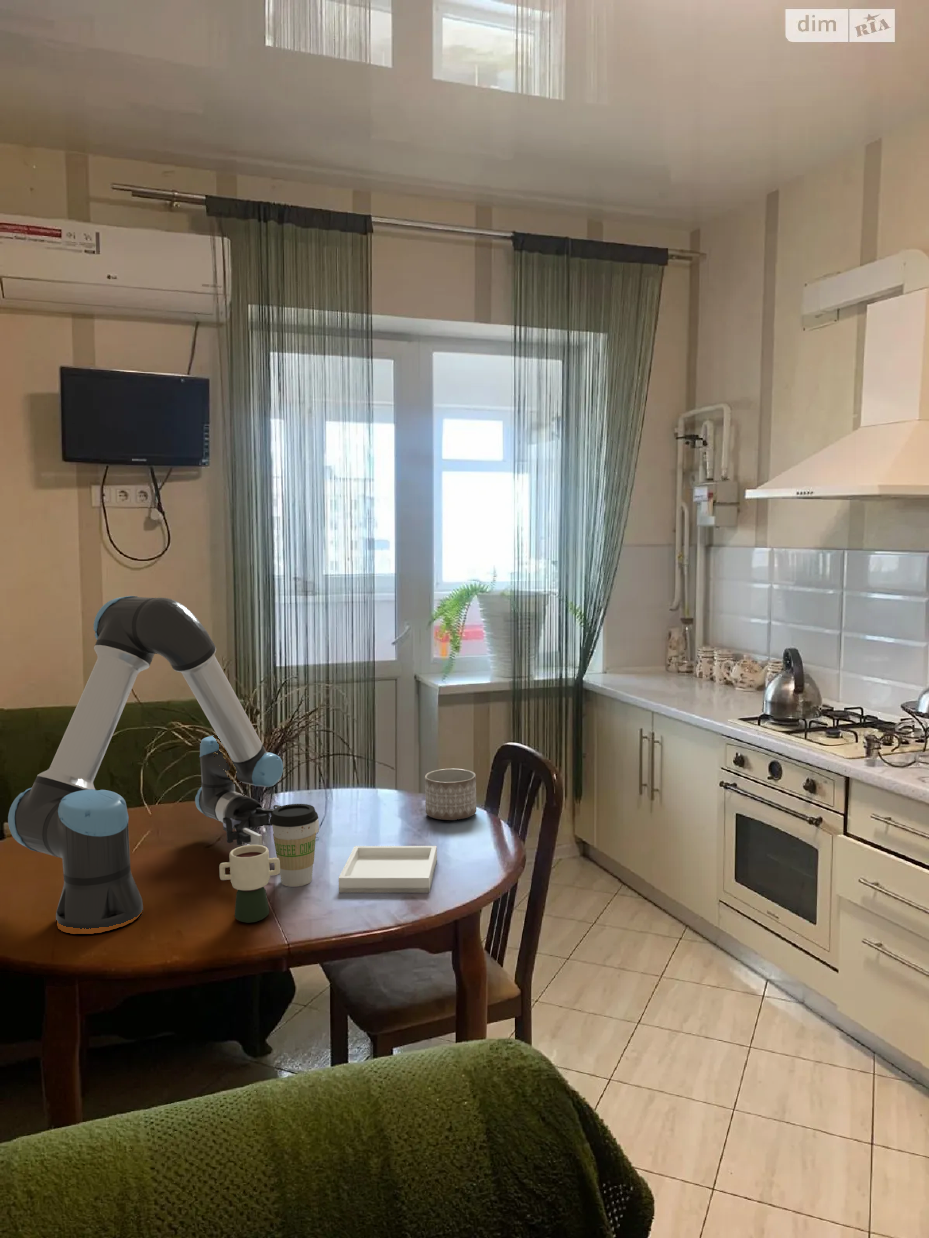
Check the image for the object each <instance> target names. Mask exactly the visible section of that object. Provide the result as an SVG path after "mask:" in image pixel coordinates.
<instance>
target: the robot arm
mask: <svg viewBox="0 0 929 1238" xmlns="http://www.w3.org/2000/svg"><path fill="white" fill-rule="evenodd" d="M93 631H94V632H95V633H94V637H95V640H96V642H95V645H94V647H93V650H94V652H95V654H96V657H97V659H96V661H95V663H94V666H93V668H92V670H91V672H90V675H89V677H88V680H87V682H86V684H85V687H84V688H83V691H82V692H81V695H80V698H79V700H78V703H77V705H76V707H75V709H74V712H73V714H72V716H71V719H70V721H69V723H68V726H67V727H66V729H65V731H64V734H63V736H62V739H61V741H60V743H59V746H58V747H57V750H56V753H55V755H54V756H53V759H52V762H51V764H50V766H49V768H47V770H44V771H42V772H40V773H39V774H37V776H36V778H35V779H34V782H33V783H32V784H33V785H32V787H29V788H27V789H25V791H23V792H20V793H19V794H18V795H17V796H16V797H15V798H14V800H13V802H12V803H11V805H10V807H9V811H8V816H7V825H8V828H9V831H10V834H11V836H12V838H13V839H14V841H16V842H17V843H18V844H20V845H21V846H23V847H25V848H27V849H29V850H30V851H34V852H36V853H43V854H45V855H49V856H52V857H55V858H61V859H62V870H63V871H62V872H63V874H62V875H63V887H62V890H61V895H60V898H59V901H58V904H57V909H56V912H55V921H56V920H57V921H58V923H59V924H61V925H63V926H66V927H73V928H80V929H82V928H84V929H85V928H86V929H89V928H90V929H91V928H99V927H109V926H113V925H116V924H121V923H124V922H126V921H128V920H131V919H133V918H134V917H137V916H138V915H139V914H140V913H141V912H142V910H143V911H144V905H143V898H142V896H141V893H140V891H139V889H138V886H137V883H136V881H135V878H134V877H133V874H132V870H131V869H132V868H131V851H130V833H129V819H130V818H129V812H128V807H127V803H126V799H124V797H123V796H121V795H120V794H118V793H117V792H115V791H111V790H106V789H100V790H97V789H96V788H95V785H94V781H95V778H96V776H97V774H98V771H99V769H100V766H101V764H102V762H103V759H104V756H105V754H106V753H107V749H108V747H109V744H110V742H111V740H112V737H113V736H114V732H115V731H116V728H117V725H118V723H119V721H120V719H121V715H122V714H123V710H124V709H125V706H126V704H127V701H128V699H129V697H130V694H131V692H132V690H133V687H134V684H135V683H136V679H137V678H138V676H139V674H140V672H142V671H145V670H148V669H149V668H150V666H151V664H152V662H153V659H154V657H155V655H160V656H161V657H163V658H164V659H165V660H166V661H167V662H168V663H169V664H170V666H171V668H172V669H173V671H174V672H178V673H181V675H182V676H183V679H184V680H185V681H186V684H187V685H188V687H189V689H190V692H191V693H192V694H193V696H194V698H195V699H196V700H197V701H196V702H198V704H199V706H200V708H201V709H202V711H203V713H204V715H205V716H206V718H207V720H208V721H209V724H210V725H211V727H212V729H213V730H214V733H215V735H217V736H218V738H219V739H220V741H221V743H222V744H223V746H224V748H225V750H226V751H227V753H228V755H229V757H230V758H231V760H232V762H233V764H234V766H235V767H236V771H237V773H236V776H237V779H238V780H239V781H240V782H239V783H241V782H242V783H241V784H245V785H249V786H251V785H252V786H255V787H265V788H269V787H273V786H274V785H276V784H277V783H278V782H279V781H280V779H281V777H282V775H283V772H284V765H283V764H284V762H283V761H282V758H281V757H280V755H277V754H275V753H273V752H271V751H270V752H268V751H267V750H266V748H265V746H264V744H263V743H262V741H261V739H260V737H259V735H258V734H257V732H256V729H255V728H254V726H253V724H252V722H251V720H250V718H249V716H248V715H247V712H245V710H244V707H243V706H242V704H241V702H240V700H239V698H238V696H237V694H236V692H235V691H234V689H233V687H232V685H231V683H230V681H229V680H228V678H227V676H226V674H225V672H224V670H223V668H222V666H221V664H220V663H219V661H218V659H217V657H216V655H215V654H216V652H217V647H216V645H215V643H214V641H213V639H212V638H211V636H210V634H209V632H208V631H207V629H206V628H205V626H204V625H203V624H202V623H201V621H200V620H199V618H197V617H196V615H195V614H194V613H193V612H192V611H191V610H190V609H189V608H187V607H186V606H185V605H184V604H182V603H181V602H179V601H177V600H175V599H172V598H168V597H146V596H145V597H143V596H137V595H128V596H127V595H126V596H120V597H115V598H113V599H110V600H109V601H107V602H106V603H104V605H102V606H101V607H100V609H99V610H98V611H97V613H96V615H95V617H94V621H93ZM213 736H214V735H210V736H207V737H204V738H202V739H201V740H200V742H201V743H200V742H199V756H198V757H199V761H200V763H199V764H200V774H201V775H200V777H201V785H200V786H201V787H200V788H199V789H198V790H197V793H196V795H195V798H194V802H195V803H194V804H195V807H196V808H197V810H198V811H199V812H200V813H202V814H203V815H204V816H205V817H207V818H210V819H214V820H216V821H219V823H222V829H223V831H224V832H226V843H229V844H231V843H234V840H236V845H237V846H240V845H242V846H243V843H244V844H245V843H246V844H247V845H262V846H263V835H262V834H261V833H258V832H256V831H254V829H256V828H257V827H264V826H272V824H271V823H270V817H271V816H272V812H273V810H274V809H275V808H277V807H280V806H281V805H279V804H274V805H273V806H272V807H273V808H264V807H262V805H261V803H260V802H259V801H258V800H256V799H255V798H252V797H250V796H247V795H245V796H243V795H244V794H243V795H242V793H239V792H237V791H236V785H235V784H233V782H232V780H230V778H229V777H227V775H226V773H225V770H226V771H227V770H230V767H229V765H228V763H226V760H225V759H224V758H223V754H222V753H221V752H220V751H219V744H218V743H217V741H216V739H215V738H214V737H213ZM214 752H216V753H218V755H217V754H213V753H214ZM214 756H215V757H214ZM219 765H220V766H219ZM223 769H224V770H223ZM233 830H235V831H233ZM315 830H316V834H317V833H320V823H319V818H318V819H317V820H316V829H315Z"/></svg>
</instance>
